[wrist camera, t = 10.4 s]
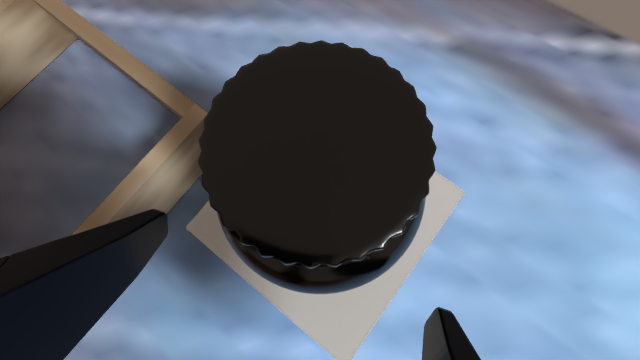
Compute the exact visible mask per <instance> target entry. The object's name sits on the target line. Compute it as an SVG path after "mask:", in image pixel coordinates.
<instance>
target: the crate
mask: <svg viewBox="0 0 640 360" xmlns="http://www.w3.org/2000/svg"><path fill="white" fill-rule="evenodd" d="M77 38H79V39H80V40H81V41H83V42H84V43H85V44H87V45H88V46H89V47H90V48H92V49H93V50H94V51H95V52H97V53H98V54H99V55H101V56H102V57H103V58H104V59H106V60H107V61H108V62H109V63H111V64H112V65H113V66H115V67H116V68H117V69H118V70H120V71H121V72H122V73H123V74H125V75H126V76H127V77H129V78H130V79H131V80H132V81H134V82H135V83H136V84H137V85H139V86H140V87H141V88H143V89H144V90H145V91H146V92H148V93H149V94H150V95H151V96H153V97H154V98H155V99H157V100H158V101H159V102H160V103H162V104H163V105H164V106H165V107H167V108H168V109H169V110H171V111H172V112H173V113H174V114H176V115H177V116H178V117H179V118H181V119H180V120H179V121H178V122H177V123H176V124H175V125H174V126H173V127H172V128H171V129H170V131H169V132H168V133H167V134H166V135H165V136H164V137H163V138H162V139H161V140H160V141H159V142H158V143H157V144H156V145H155V146H154V148H153V149H152V150H151V151H150V152H149V153H148V154H147V155H146V156H145V157H144V158H143V159H142V160H141V161H140V162H139V163H138V165H137V166H136V167H135V168H134V169H133V170H132V171H131V172H130V173H129V174H128V175H127V176H126V177H125V178H124V179H123V180H122V182H121V183H120V184H119V185H118V186H117V187H116V188H115V189H114V190H113V191H112V192H111V193H110V194H109V195H108V196H107V197H106V198H105V200H104V201H103V202H102V203H101V204H100V205H99V206H98V207H97V208H96V209H95V210H94V211H93V212H92V213H91V214H90V215H89V217H88V218H87V219H86V220H85V221H84V222H83V223H82V224H81V225H80V226H79V227H78V228H77V229H76V230H75V231H74V232H73V234H72V235H74V234H77V233H80V232H83V231H86V230H89V229H92V228H95V227H98V226H101V225H104V224H107V223H111V222H114V221H117V220H120V219H123V218H126V217H129V216H132V215H135V214H138V213H141V212H144V211H147V210H150V209H157V210H160V211H163V212H165V213H166V214H167V213H168V212H169V211H170V210H171V209H172V207H173V206H174V205H175V204H176V203H177V202H178V201H179V200H180V198H181V197H182V196H183V195H184V194H185V193H186V192H187V191H188V189H189V188H190V187H191V186H192V185H193V184H194V183H195V182H196V180H197V179H198V178H199V177H200V176H201V175H202V173H203V172H202V170H201V168H200V166H199V164H198V159H199V156H200V153H201V148H200V145H199V138H200V136H201V134H202V132H203V130H204V118H205V116H206V115H207V114H208V113H207V112H206V111H205V110H203V109H202V108H201V107H199V106H198V105H197V104H196V103H194V102H193V101H192V100H190V99H189V98H188V97H186V96H185V95H184V94H182V93H181V92H180V91H179V90H177V89H176V88H175V87H173V86H172V85H171V84H169V83H168V82H167V81H165V80H164V79H163V78H162V77H160V76H159V75H158V74H156V73H155V72H154V71H152V70H151V69H150V68H148V67H147V66H146V65H145V64H143V63H142V62H141V61H139V60H138V59H137V58H135V57H134V56H133V55H131V54H130V53H129V52H128V51H126V50H125V49H124V48H122V47H121V46H120V45H118V44H117V43H116V42H114V41H113V40H112V39H111V38H109V37H108V36H107V35H105V34H104V33H103V32H101V31H100V30H99V29H97V28H96V27H95V26H94V25H92V24H91V23H90V22H88V21H87V20H86V19H84V18H83V17H82V16H80V15H79V14H78V13H77V12H75V11H74V10H73V9H71V8H70V7H69V6H67V5H66V4H65V3H63V2H62V1H61V0H0V109H1V108H2V107H3V106H4V105H5V104H6V103H7V102H8V101H10V100H11V99H12V98H13V97H14V96H15V95H16V94H17V93H18V92H19V91H20V90H22V89H23V88H24V87H25V86H26V85H27V84H28V83H29V82H30V81H31V80H32V79H34V78H35V77H36V76H37V75H38V74H39V73H40V72H41V71H42V70H43V69H44V68H46V67H47V66H48V65H49V64H50V63H51V62H52V61H53V60H54V59H55V58H56V57H58V56H59V55H60V54H61V53H62V52H63V51H64V50H65V49H66V48H67V47H68V46H70V45H71V44H72V43H73V42H74V41H75V40H76V39H77Z"/></svg>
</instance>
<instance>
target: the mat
mask: <svg viewBox="0 0 640 360" xmlns="http://www.w3.org/2000/svg"><path fill="white" fill-rule="evenodd" d="M464 193H465V191H463V190H462V189H460V188H459V187H457V186H456V185H454V184H453V183H452V182H450V181H449V180H447V179H446V178H444V177H443V176H441V175H440V174H438V173H437V172H436V171H435V172H434V174H433V176H432V177H431V178H430V180H429V194H428V195H427V196H426V201H425V208H424V213H423V217H422V220H421V223H420V226H419V229H418V231H417V233H416V235H415V237H414V239H413V241H412V243H411V244H410V246H409V247H408V249H407V250H406V252H405V253H404V254H403V256H402V257H401V258H400V259H399V260H398V261H397V262H396V263H395V264H394V265H393V266H392V267H391V268H390V269H389V270H388V271H386V272H385V273H384V274H382V275H381V276H379V277H378V278H376V279H374V280H373V281H371V282H369V283H367V284H365V285H363V286H360V287H358V288H355V289H352V290H349V291H344V292H340V293H333V294H307V293H300V292H296V291H292V290H288V289H285V288H282V287H280V286H278V285H275V284H273V283H271V282H269V281H268V280H266V279H264V278H262V277H261V276H260V275H258V274H257V273H255V272H254V271H253V270H252V269H251V268H249V267H248V266H247V265H246V264H245V263H244V262H243V261H242V260H241V258H240V257H239V256H238V255H237V254H236V252H235V251H234V250H233V248H232V247H231V245H230V244H229V242H228V240H227V238H226V236H225V234H224V232H223V230H222V227H221V224H220V222H219V219H218V214H217V212H216V211H215V210H214V209H213V208H212V207H211V206H210V202H209V201H208V202H207V203H206V204H205V205H204V206H203V208H202V209H201V210H200V211H199V212H198V213H197V215H196V216H195V217H194V218H193V219H192V220H191V221H190V223H189V224H188V225H187V226H186V227H185V228H186V229H187V230H188V231H189V232H190V233H192V234H193V235H194V236H195V237H196V238H197V239H198V240H200V241H201V242H202V243H203V244H204V245H205V246H206V247H208V248H209V249H210V250H211V251H212V252H213V253H214V254H216V255H217V256H218V257H219V258H220V259H221V260H222V261H224V262H225V263H226V264H227V265H228V266H229V267H231V268H232V269H233V270H234V271H235V272H236V273H237V274H239V275H240V276H241V277H242V278H243V279H244V280H245V281H247V282H248V283H249V284H250V285H251V286H252V287H253V288H255V289H256V290H257V291H258V292H259V293H260V294H261V295H263V296H264V297H265V298H266V299H267V300H268V301H269V302H271V303H272V304H273V305H274V306H275V307H276V308H278V309H279V310H280V311H281V312H282V313H283V314H284V315H286V316H287V317H288V318H289V319H290V320H291V321H292V322H294V323H295V324H296V325H297V326H298V327H299V328H300V329H302V330H303V331H304V332H305V333H306V334H307V335H308V336H310V337H311V338H312V339H313V340H314V341H315V342H317V343H318V344H319V345H320V346H321V347H322V348H323V349H325V350H326V351H327V352H328V353H329V354H330V355H331V356H333V357H334V358H335V359H336V360H351V359H352V357H353V356H354V354H355V353H356V351H357V350H358V349H359V347H360V346H361V344H362V343H363V341H364V340H365V338H366V337H367V335H368V334H369V332H370V331H371V330H372V328H373V327H374V325H375V324H376V322H377V321H378V319H379V318H380V316H381V315H382V313H383V312H384V310H385V309H386V308H387V306H388V305H389V303H390V302H391V300H392V299H393V297H394V296H395V294H396V293H397V291H398V290H399V289H400V287H401V286H402V284H403V283H404V281H405V280H406V278H407V277H408V275H409V274H410V272H411V271H412V269H413V268H414V267H415V265H416V264H417V262H418V261H419V259H420V258H421V256H422V255H423V253H424V252H425V250H426V249H427V247H428V246H429V245H430V243H431V242H432V240H433V239H434V237H435V236H436V234H437V233H438V231H439V230H440V228H441V227H442V226H443V224H444V223H445V221H446V220H447V218H448V217H449V215H450V214H451V212H452V211H453V209H454V208H455V206H456V205H457V204H458V202H459V201H460V199H461V198H462V196H463V195H464Z"/></svg>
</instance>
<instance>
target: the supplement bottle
mask: <svg viewBox="0 0 640 360" xmlns="http://www.w3.org/2000/svg"><path fill="white" fill-rule="evenodd" d="M432 132H433V125H432V123H431V122H430V120H429V119H428V118H427V116H426V107H425V104H424V103H423V102H422V101H421V100H419V99H418V98H417V95H416V91H415V89H414V87H413V86H412V85H411V84H409V83H408V82H406V81H405V80H404V79H403V76H402V75H401V73H400V71H398V70H396V69H395V68H391V67H390V66H388V64H387V63H386V62H385V60H384V59H383V58H381V57H377V56H372V55H370V54H369V53H368V52H367V51H366V50H364V49H363V48H351V47H349V46H348V45H346V44H344V43H334V44H330V43H327V42H324V41H317V42H313V43H305V42H298V43H296V44H294V45H292V46H289V47H285V46H282V47H278V48H276V49H275V50H273V51H272V52H271V53H267V54H261V55H259V56H258V57H257V58H256V59H255V60H254V61H253V62H252V63H250V64H247V65H244V66H242V67H241V68H240V69H239V71H238V72H237V74H236V76H234V77H233V78H230V79H229V80H227V81H226V82H225V84H224V86H223V89H222V92H221V93H219V94H218V95H217V96H216V97H215V98H214V99H213V101H212V106H211V110H210V112H209V113H208V114H207V115H206V116H205V118H204V130H203V132H202V134H201V136H200V138H199V145H200V148H201V153H200V156H199V159H198V164H199V166H200V168H201V170H202V172H203V173H202V186H203V187H204V189H205V190H206V191H207V192H208V193H209V202H210V206H211V207H212V208H213V209H214V210H215V211H216V212H217V214H218V219H219V222H220V224H221V227H222V230H223V232H224V234H225V236H226V238H227V240H228V242H229V244H230V245H231V247H232V248H233V250H234V251H235V252H236V254H237V255H238V256H239V257H240V258H241V260H242V261H243V262H244V263H245V264H246V265H247V266H248V267H249V268H251V269H252V270H253V271H254V272H255V273H257V274H258V275H260V276H261V277H262V278H264V279H266V280H268V281H269V282H271V283H273V284H275V285H278V286H280V287H282V288H285V289H288V290H292V291H296V292H300V293H307V294H333V293H340V292H344V291H349V290H352V289H355V288H358V287H360V286H363V285H365V284H367V283H369V282H371V281H373V280H374V279H376V278H378V277H379V276H381V275H382V274H384V273H385V272H386V271H388V270H389V269H390V268H391V267H392V266H393V265H394V264H395V263H396V262H397V261H398V260H399V259H400V258H401V257H402V256H403V254H404V253H405V252H406V250H407V249H408V247H409V246H410V244H411V243H412V241H413V239H414V237H415V235H416V233H417V231H418V229H419V226H420V223H421V220H422V217H423V213H424V208H425V201H426V196H427V195H428V194H429V180H430V178H431V177H432V176H433V174H434V172H435V166H434V162H433V157H434V154H435V151H436V145H435V143H434V141H433V139H432Z"/></svg>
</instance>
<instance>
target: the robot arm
mask: <svg viewBox="0 0 640 360" xmlns="http://www.w3.org/2000/svg"><path fill="white" fill-rule="evenodd" d="M167 233H168V224H167V215H166V213H165V212H163V211H160V210H157V209H150V210H147V211H144V212H141V213H138V214H135V215H132V216H129V217H126V218H123V219H120V220H117V221H114V222H111V223H107V224H104V225H101V226H98V227H95V228H92V229H89V230H86V231H83V232H80V233H77V234H74V235H71V236H68V237H65V238H62V239H59V240H55V241H52V242H49V243H46V244H43V245H40V246H37V247H34V248H31V249H28V250H25V251H22V252H19V253H16V254H13V255H11V256H6V257H3V258H0V360H63V359H64V358H65V357H66V356H67V355H68V354H69V353H70V352H71V350H72V349H73V348H74V347H75V346H76V345H77V344H78V343H79V341H80V340H81V339H82V338H83V337H84V336H85V335H86V334H87V332H88V331H89V330H90V329H91V328H92V327H93V326H94V325H95V323H96V322H97V321H98V320H99V319H100V318H101V317H102V316H103V314H104V313H105V312H106V311H107V310H108V309H109V308H110V307H111V305H112V304H113V303H114V302H115V301H116V300H117V299H118V298H119V296H120V295H121V294H122V293H123V292H124V291H125V290H126V289H127V287H128V286H129V285H130V284H131V283H132V282H133V281H134V279H135V278H136V277H137V276H138V275H139V273H140V272H141V271H142V269H143V268H144V267H145V265H146V264H147V263H148V261H149V260H150V258H151V257H152V256H153V254H154V253H155V252H156V250H157V249H158V247H159V246H160V245H161V243H162V242H163V241H164V239H165V238H166V236H167ZM422 360H481V359H480V357H479V356H478V354H477V352H476V351H475V349H474V347H473V346H472V344H471V342H470V341H469V339H468V338H467V336H466V334H465V333H464V331H463V329H462V328H461V326H460V324H459V323H458V321H457V319H456V318H455V316H454V314H453V313H452V312H451V311H449V310H446V309H443V308H440V307H437V308H436V309H435V310H434V311H433V313H432V314H431V316H430V317H429V318H428V320H427V321H426V323H425V326H424V336H423V350H422Z"/></svg>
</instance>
